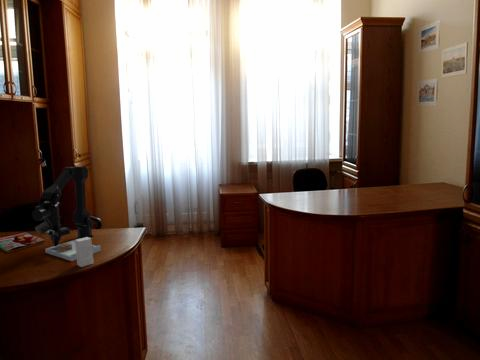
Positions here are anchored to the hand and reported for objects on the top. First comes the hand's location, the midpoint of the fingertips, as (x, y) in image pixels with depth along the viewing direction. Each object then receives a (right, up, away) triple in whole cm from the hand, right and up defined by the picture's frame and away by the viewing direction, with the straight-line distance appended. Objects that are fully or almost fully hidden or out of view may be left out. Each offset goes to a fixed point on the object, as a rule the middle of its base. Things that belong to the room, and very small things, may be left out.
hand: (55, 246), depth 199 cm
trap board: (+9, -3, 0) cm, 9 cm away
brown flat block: (+6, -1, -3) cm, 7 cm away
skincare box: (+21, -6, -17) cm, 28 cm away
